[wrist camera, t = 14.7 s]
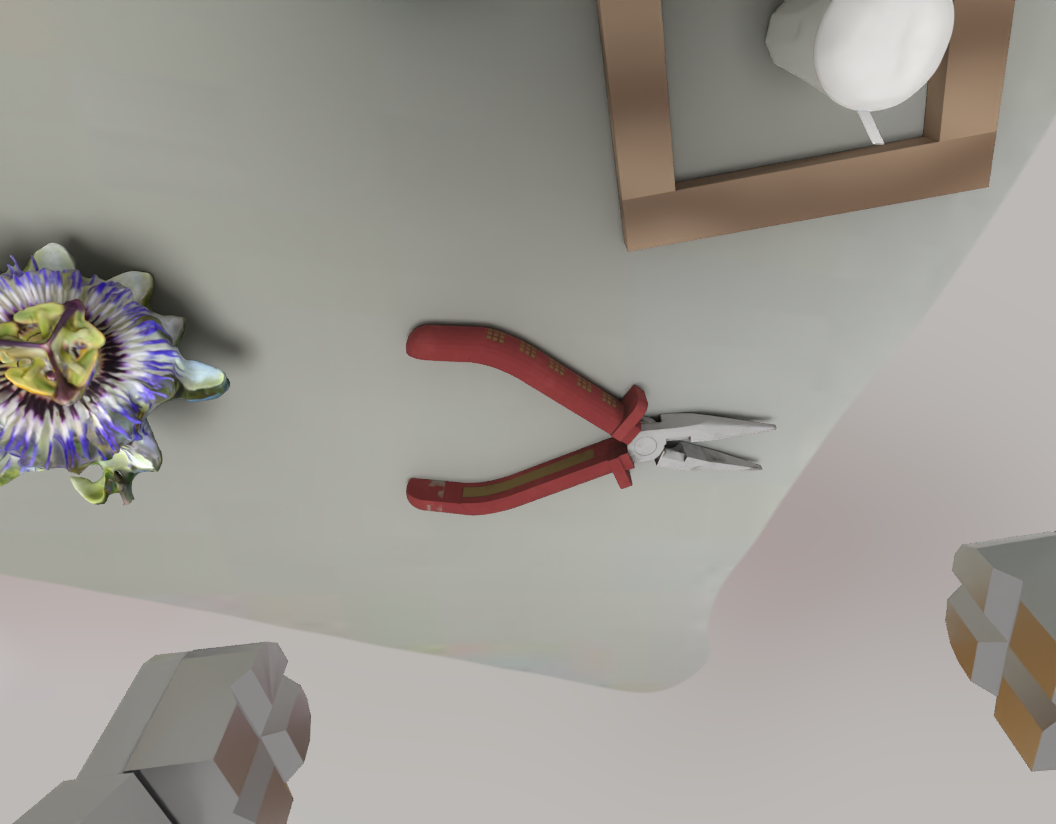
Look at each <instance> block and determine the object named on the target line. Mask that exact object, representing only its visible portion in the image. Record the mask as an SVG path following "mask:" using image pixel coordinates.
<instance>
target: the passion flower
mask: <svg viewBox="0 0 1056 824" xmlns="http://www.w3.org/2000/svg"><path fill="white" fill-rule="evenodd" d="M30 256H31V258H30V260H29V262H28V265H27V266H26V267H25V269H24V270H23V271H22V270H21V269H20V267H19V265H18V263H17V261H16V259H15V258H14V257H13V255H10V257H11V258H12V260H13V261H14V263H15V265H14V266H10V265H9V264H7V267H8V270H7V272H6V273H3V274H0V486H2V485H4V484H6V483H8V482H10V481H11V480H13V479H14V478H16V477H17V476H19V475H21V474H24V473H26V472H28V471H31V470H32V471H35V472H39V471H43V470H49V469H52V468H66V469H67V470H68V471H69V472H72V473H77V474H78V475H79V474H80V473H82V471H83V470H84V469H85V468H87V467H88V466H89V465H92V464H98V465H100V466H101V467H102V469H103V477H102V478H101V479H100V480H98V481H97V482H94V483H92V482H91V481H90V480H89V479H85V478H82V477H71V478H70V480H71V482H72V484H73V485H74V487H75V489H76V490H77V491H78V492H79V493H80V495H81V496H82V497H84V499H85V500H87V501H89V502H90V503H94V504H97V505H98V504H105V502H106V501H107V498H108V496H109V495H110V494H113V493H120V495H121V497H122V499H123V502H124V504H125V505H128V504H130V503H131V502H132V499H133V498H134V497H133V494H132V488H131V487H132V480H133V479H134V477H135V476H136V475H137V474H138V473H140V472H145V471H151V472H155V471H156V472H158V471H159V469H160V466H161V464H162V453H161V450H160V449H159V447H158V444H157V442H156V440H155V438H154V435H153V432H152V430H151V427H150V425H149V423H148V421H147V418H146V417H147V416H148V414H149V413H150V412H151V411H153V410H154V409H155V408H156V407H158V406H159V405H160V404H161V403H163V402H166V401H169V400H172V399H177V398H184V399H186V400H187V401H189V402H193V401H204V400H211V399H215V398H218V397H220V396H221V395H222V394H224V393H225V392H226V391H227V390H228V388H229V386H230V382H229V379H228V378H227V377H226V374H225V373H224V372H223V371H222V370H220V369H217V368H215V367H213V366H210V365H207V364H204V363H202V362H198V361H195V360H186V359H184V358H183V357H182V355H181V354H180V352H179V350H178V348H177V347H176V346H177V344H178V342H179V341H180V339H181V338H182V336H183V333H184V330H185V327H186V318H185V317H179V316H175V315H166V316H163V315H159V314H157V313H154V312H153V311H152V310H151V308H150V305H149V300H150V297H151V295H152V293H153V288H154V280H153V276H152V275H151V274H149V273H146V272H139V271H129V272H125V273H122V274H120V275H118V276H115V277H113V278H111V279H108V280H107V281H105V280H102V279H100V278H99V277H98V276H97V275H96V274H95V275H93V277H92V278H86V277H83V276H82V275H81V273H80V269H79V270H77V268H76V261H75V259H74V257H73V256H72V255H71V254H70V253H69V252H68V250H67V249H66V248H65V247H63V246H62V245H60V244H59V243H49V244H47V245H46V246H44V247H43V248H41V249H39V250H37V251H36V252H35V253H34V255H33V256H32V255H30ZM118 471H119V472H120V473H121V474H122V476H121V475H120V474H119V472H118ZM133 500H134V499H133Z"/></svg>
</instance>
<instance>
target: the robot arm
mask: <svg viewBox="0 0 1056 824" xmlns="http://www.w3.org/2000/svg"><path fill="white" fill-rule="evenodd" d="M952 571H953V573H954V574H955V575H956V576H957V578H958V579H959V580H960V582H961V583H962V585H961V586H960V587H959V588H958V589H957V590H956V591H955V592H954V593H953V594H952V595H951V596H950V597H949V598H948V600H947V610H946V619H945V621H946V626H947V631H948V635H949V640H950V644H951V646H952V649H953V651H954V653H955V655H956V658H957V660H958V662H959V664H960V665H961V667H962V668H963V670H964V671H965V673H966V674H967V676H968V678H969V679H970V681H972V682H973V683H975V684H977V685H978V686H980V687H982V688H983V689H985V690H987V691H988V692H990V693H992V694H993V695H995V696H997V698H996V705H995V711H994V716H995V718H996V720H997V721H998V722H999V724H1000V725H1001V727H1002V729H1003V730H1004V731H1005V733H1006V734H1007V736H1008V737H1009V739H1010V740H1011V742H1012V743H1013V745H1014V746H1015V748H1016V749H1017V751H1018V752H1019V754H1020V755H1021V757H1022V758H1023V760H1024V761H1025V762H1026V764H1027V766H1028V767H1029V768H1030V770H1031V771H1043V770H1056V531H1055V532H1043V533H1037V534H1030V535H1023V536H1016V537H1009V538H1003V539H996V540H990V541H983V542H976V543H969V544H962V545H961V547H960V548H959V549H958V551H957V552H956V553H955V557H954V562H953V568H952ZM287 663H288V660H287V658H286V657H285V655H284V653H283V652H282V650H281V648H280V646H279V645H278V643H273V642H260V643H251V644H243V645H234V646H225V647H216V648H208V649H198V650H193V651H188V652H179V653H170V654H161V655H155V656H154V657H152V658H151V659H150V660H148V661H147V662H145V663H144V664H143V665H142V667H141V669H140V670H139V672H138V674H137V675H136V677H135V679H134V681H133V682H132V684H131V686H130V688H129V689H128V691H127V693H126V694H125V696H124V698H123V699H122V701H121V703H120V705H119V706H118V708H117V710H116V712H115V713H114V715H113V717H112V718H111V720H110V722H109V723H108V725H107V727H106V729H105V730H104V732H103V734H102V735H101V737H100V739H99V740H98V742H97V744H96V746H95V747H94V749H93V751H92V753H91V754H90V756H89V758H88V759H87V761H86V763H85V765H84V766H83V768H82V770H81V771H80V773H79V775H78V776H77V778H76V779H74V780H68V781H63V782H62V783H60V784H59V785H58V786H57V787H56V788H54V789H53V790H52V791H51V792H50V793H49V794H47V795H46V796H45V797H44V798H43V799H41V800H40V801H39V802H38V803H37V804H36V805H34V806H33V807H32V808H31V809H30V810H28V811H27V812H26V813H25V814H24V815H22V816H21V817H20V818H19V819H18V820H17V821H15V822H14V823H13V824H286V823H287V819H288V816H289V813H290V809H291V805H292V802H293V797H292V794H291V792H290V789H289V787H288V785H287V781H288V780H289V779H290V778H291V777H292V776H293V775H294V773H295V772H296V771H297V770H298V769H299V768H300V767H301V765H303V764H304V761H305V757H306V753H307V749H308V746H309V742H310V725H311V714H310V710H309V705H308V701H307V697H306V695H305V693H304V691H303V689H302V687H301V685H300V684H298V683H296V682H294V681H292V680H291V679H289V678H288V677H286V676H284V675H283V674H284V671H285V668H286V665H287Z"/></svg>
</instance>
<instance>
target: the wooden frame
mask: <svg viewBox="0 0 1056 824" xmlns="http://www.w3.org/2000/svg"><path fill="white" fill-rule="evenodd" d="M952 1H953V5H954V25H953V31H952V35H951V38H950V41H949V43H948V46H947V49H946V51H945V54H944V56H943V58H942V60H941V63H940V64H939V66H938V68H937V70H936V71H935V73H934V74H933V75H932V76H931V78H930V79H929V80H928V90H927V100H926V111H925V122H924V132H923V137H918V138H912V139H907V140H902V141H896V142H891V143H886V144H884V145H875V146H870V147H864V148H859V149H853V150H848V151H843V152H837V153H832V154H827V155H821V156H816V157H810V158H805V159H800V160H794V161H789V162H784V163H778V164H773V165H768V166H762V167H757V168H751V169H746V170H741V171H735V172H730V173H725V174H719V175H714V176H709V177H703V178H698V179H692V180H687V181H682V182H676V183H675V179H674V166H673V152H672V139H671V126H670V113H669V100H668V86H667V73H666V60H665V47H664V33H663V20H662V7H661V0H596V2H597V11H598V19H599V28H600V37H601V45H602V54H603V63H604V71H605V80H606V89H607V97H608V106H609V115H610V123H611V132H612V141H613V149H614V158H615V167H616V175H617V184H618V193H619V201H620V210H621V219H622V227H623V236H624V243H625V246H626V248H627V250H628V252H629V251H634V250H640V249H646V248H651V247H657V246H662V245H668V244H673V243H679V242H685V241H690V240H696V239H701V238H707V237H713V236H718V235H724V234H729V233H735V232H740V231H746V230H752V229H757V228H763V227H768V226H774V225H779V224H785V223H791V222H796V221H802V220H807V219H813V218H819V217H824V216H830V215H835V214H841V213H846V212H852V211H858V210H863V209H869V208H874V207H880V206H885V205H891V204H897V203H902V202H908V201H913V200H919V199H925V198H930V197H936V196H941V195H947V194H952V193H958V192H964V191H969V190H975V189H980V188H986V187H989V181H990V174H991V167H992V160H993V153H994V146H995V139H996V132H997V125H998V118H999V110H1000V103H1001V96H1002V89H1003V82H1004V75H1005V68H1006V61H1007V54H1008V47H1009V40H1010V33H1011V26H1012V19H1013V12H1014V5H1015V0H952Z"/></svg>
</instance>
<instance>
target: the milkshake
mask: <svg viewBox="0 0 1056 824" xmlns="http://www.w3.org/2000/svg"><path fill="white" fill-rule="evenodd" d="M953 25H954V5H953V1H952V0H784V2H783V3H782V4H781V5H780V6H779V7H778V8H777V9H776V10H775V12H774V13H773V14H772V15H771V17H770V22H769V27H768V31H767V35H766V40H765V43H766V45H767V48H768V50H769V53H770V56H771V58H772V61H773V63H774V64H775V65H777V66H779V67H781V68H782V69H784V70H786V71H788V72H790V73H792V74H794V75H796V76H797V77H799V78H801V79H803V80H804V81H806V82H808V83H809V84H810V85H812V86H813V87H815V88H816V89H817V90H819V91H820V92H822V93H823V94H825V95H826V96H828V97H829V98H831V99H832V100H833V101H834V102H836V103H837V104H839V105H841V106H843V107H845V108H848V109H852V110H856V111H857V113H858V115H859V117H860V119H861V122H862V124H863V126H864V128H865V130H866V132H867V135H868V137H869V139H870V141H871V143H872V144H876V145H884V144H885V143H884V141H883V138H882V136H881V134H880V132H879V130H878V128H877V126H876V124H875V122H874V120H873V118H872V116H871V114H870V111H878V110H883V109H887V108H890V107H893V106H896V105H898V104H900V103H902V102H903V101H905V100H906V99H908V98H909V97H911V96H912V95H913V94H914V93H916V92H917V91H918V90H919V89H920V88H921V87H922V86H923V85H924V84H925V83H926V82H927V81H928V80H929V79H930V78H931V76H932V75H933V74H934V73H935V71H936V70H937V68H938V66H939V64H940V63H941V60H942V58H943V56H944V54H945V51H946V49H947V46H948V43H949V41H950V38H951V35H952V31H953Z"/></svg>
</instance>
